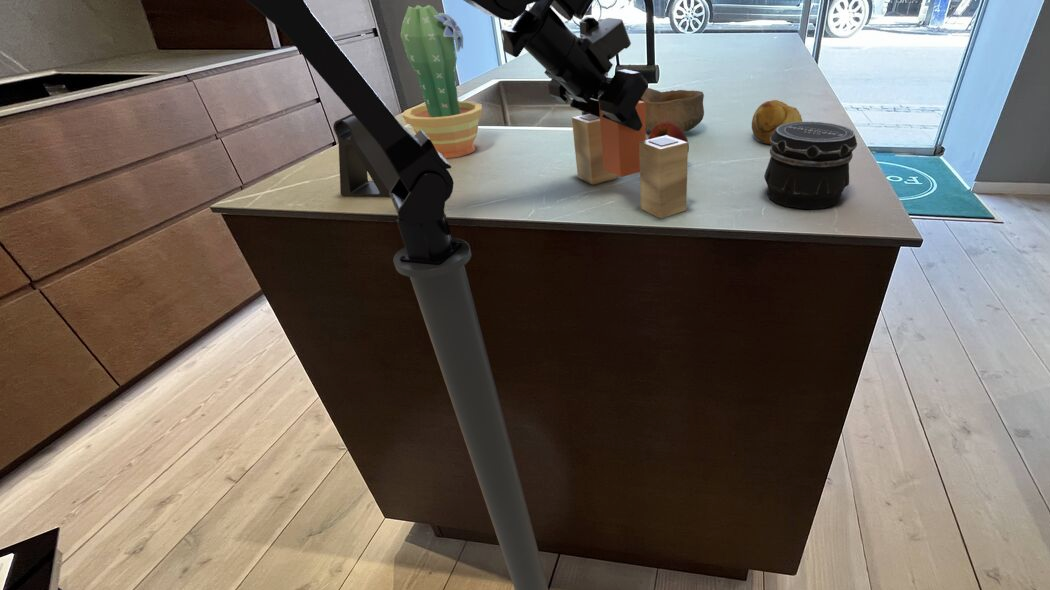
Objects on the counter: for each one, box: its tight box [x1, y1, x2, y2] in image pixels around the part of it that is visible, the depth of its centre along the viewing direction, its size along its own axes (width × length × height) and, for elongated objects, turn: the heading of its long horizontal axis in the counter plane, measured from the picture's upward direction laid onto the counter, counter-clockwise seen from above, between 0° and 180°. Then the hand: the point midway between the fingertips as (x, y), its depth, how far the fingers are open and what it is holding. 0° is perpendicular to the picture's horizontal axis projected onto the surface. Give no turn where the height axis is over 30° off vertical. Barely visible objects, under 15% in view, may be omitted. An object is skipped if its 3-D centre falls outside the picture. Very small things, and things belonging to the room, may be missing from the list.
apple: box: [647, 122, 690, 152], centre depth 94 cm, size 7×8×8 cm
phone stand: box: [333, 112, 399, 197], centre depth 88 cm, size 9×6×12 cm, turn 84°
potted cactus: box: [400, 4, 483, 159], centre depth 101 cm, size 15×15×25 cm
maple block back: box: [571, 114, 617, 186], centre depth 90 cm, size 5×5×10 cm
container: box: [763, 121, 858, 210], centre depth 80 cm, size 13×13×10 cm
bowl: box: [640, 87, 705, 133], centre depth 113 cm, size 18×14×10 cm
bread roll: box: [751, 99, 803, 145], centre depth 107 cm, size 13×10×8 cm
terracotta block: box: [599, 99, 647, 178], centre depth 81 cm, size 5×5×10 cm
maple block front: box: [639, 135, 689, 220], centre depth 78 cm, size 5×5×10 cm
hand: (630, 124), depth 81 cm, fingers closed on terracotta block, 5 cm apart
